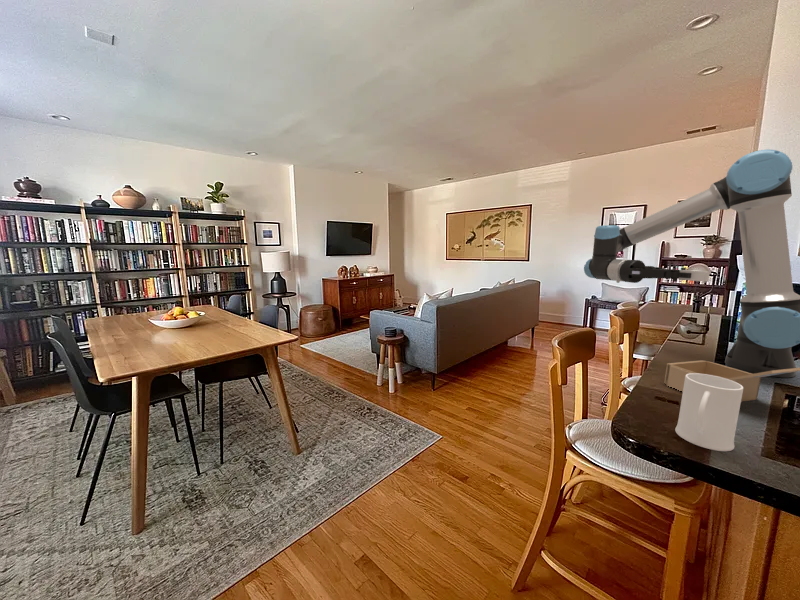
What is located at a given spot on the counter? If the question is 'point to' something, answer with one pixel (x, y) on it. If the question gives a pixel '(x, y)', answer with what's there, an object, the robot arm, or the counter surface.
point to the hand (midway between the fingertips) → (706, 276)
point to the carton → (679, 371)
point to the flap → (765, 374)
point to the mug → (709, 411)
